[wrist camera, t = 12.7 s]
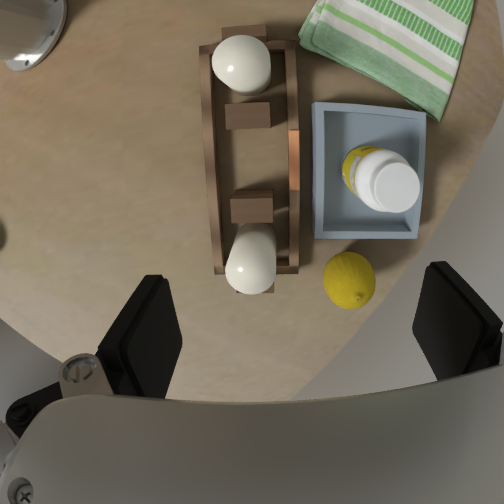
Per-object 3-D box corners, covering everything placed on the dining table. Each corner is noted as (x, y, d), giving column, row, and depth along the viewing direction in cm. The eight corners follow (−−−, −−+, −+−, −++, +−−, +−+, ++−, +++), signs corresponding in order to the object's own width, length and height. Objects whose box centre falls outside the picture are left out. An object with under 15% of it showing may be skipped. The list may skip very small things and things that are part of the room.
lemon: (317, 283, 36) (326, 323, 29) (320, 240, 34) (332, 273, 27) (361, 283, 36) (378, 321, 28) (366, 241, 33) (389, 273, 26)
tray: (311, 104, 28) (315, 102, 25) (413, 112, 27) (426, 112, 24) (311, 229, 33) (314, 238, 31) (406, 229, 32) (416, 238, 30)
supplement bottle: (393, 154, 29) (437, 169, 20) (378, 200, 31) (414, 231, 22) (348, 136, 28) (378, 143, 20) (332, 185, 31) (355, 211, 22)
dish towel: (292, 48, 26) (294, 42, 24) (353, -80, 17) (357, -90, 14) (435, 122, 28) (446, 123, 25) (473, -12, 18) (483, -17, 16)
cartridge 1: (226, 57, 27) (211, 37, 19) (270, 55, 26) (268, 33, 19) (228, 97, 28) (212, 88, 21) (272, 95, 28) (271, 85, 21)
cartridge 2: (234, 220, 34) (223, 249, 26) (275, 220, 33) (275, 248, 26) (237, 258, 35) (227, 294, 28) (276, 257, 35) (276, 294, 28)
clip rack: (202, 41, 26) (192, 31, 22) (293, 36, 25) (295, 24, 21) (218, 275, 37) (211, 292, 33) (297, 275, 36) (299, 292, 32)
